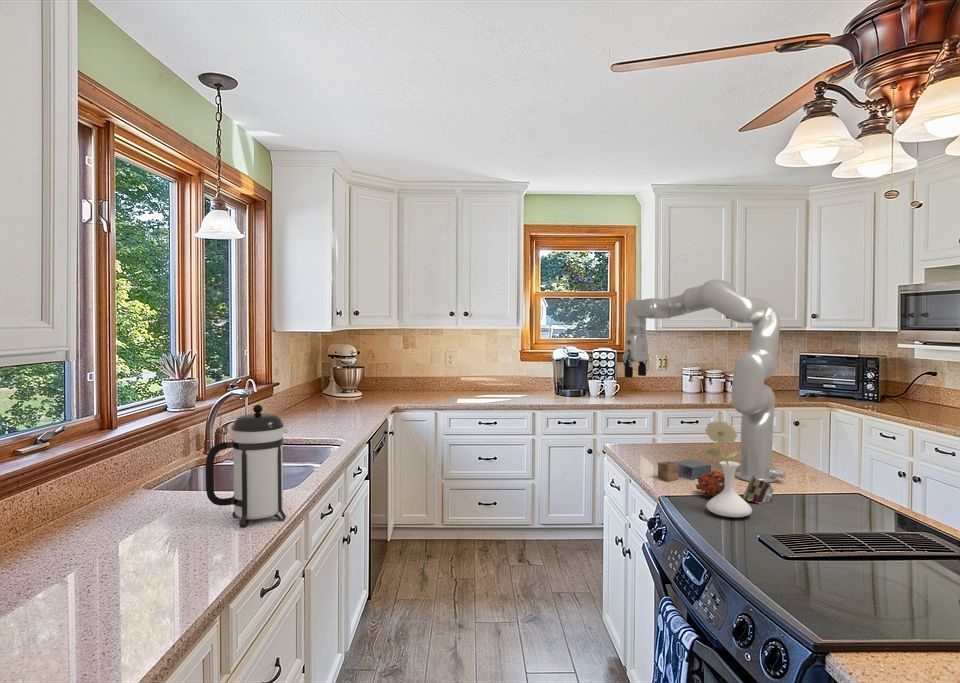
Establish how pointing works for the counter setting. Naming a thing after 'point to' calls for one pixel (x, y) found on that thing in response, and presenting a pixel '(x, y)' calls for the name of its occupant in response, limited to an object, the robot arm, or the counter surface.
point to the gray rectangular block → (692, 469)
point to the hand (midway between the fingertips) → (635, 376)
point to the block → (668, 471)
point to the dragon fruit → (711, 483)
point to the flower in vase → (726, 474)
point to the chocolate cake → (758, 491)
